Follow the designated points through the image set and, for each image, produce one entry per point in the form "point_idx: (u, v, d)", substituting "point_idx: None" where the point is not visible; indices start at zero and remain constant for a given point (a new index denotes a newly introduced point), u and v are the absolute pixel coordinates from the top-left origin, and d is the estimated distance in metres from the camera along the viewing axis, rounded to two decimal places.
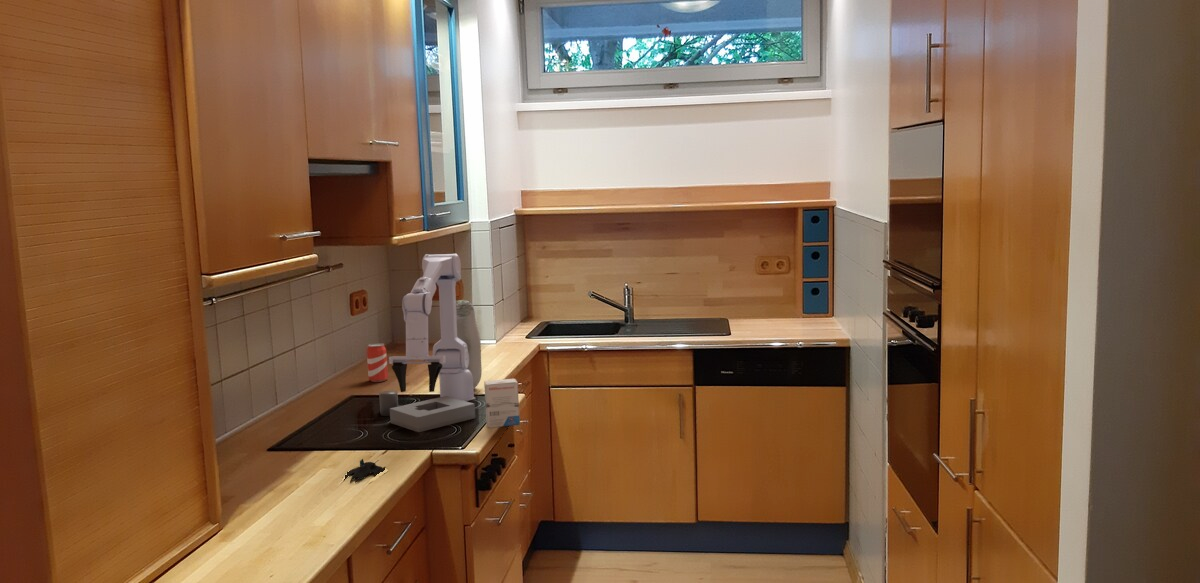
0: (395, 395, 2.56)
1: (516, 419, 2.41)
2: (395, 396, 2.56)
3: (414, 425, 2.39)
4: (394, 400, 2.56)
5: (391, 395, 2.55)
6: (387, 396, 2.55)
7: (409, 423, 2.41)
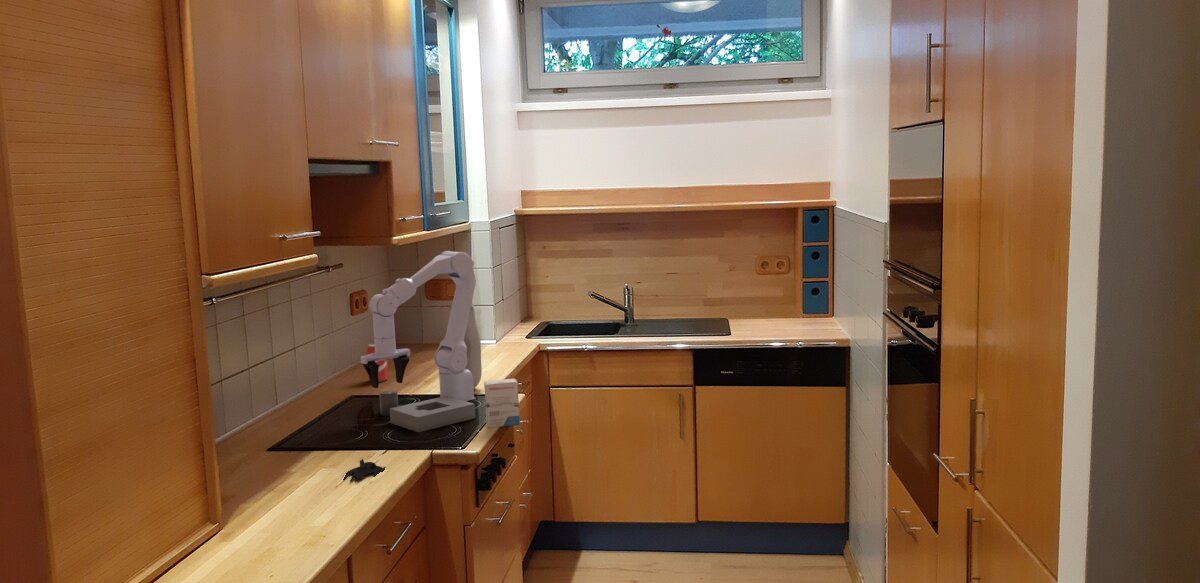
0: (395, 395, 2.56)
1: (516, 419, 2.41)
2: (395, 396, 2.56)
3: (414, 425, 2.39)
4: (394, 400, 2.56)
5: (391, 395, 2.55)
6: (387, 396, 2.55)
7: (409, 423, 2.41)
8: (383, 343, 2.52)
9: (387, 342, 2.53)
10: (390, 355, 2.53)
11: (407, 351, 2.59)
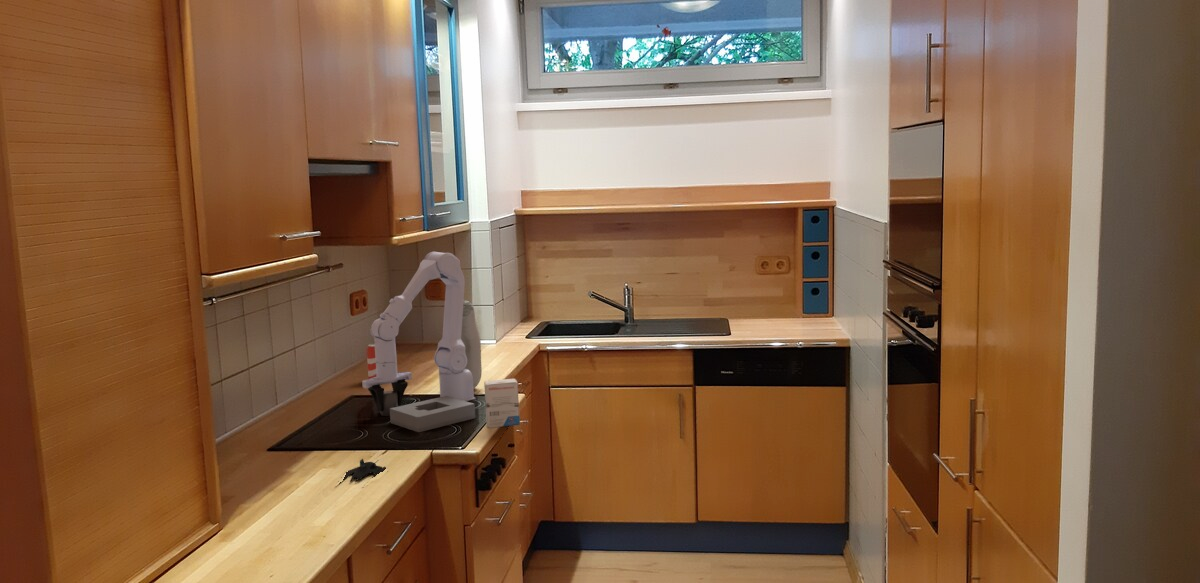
0: (395, 395, 2.56)
1: (516, 419, 2.41)
2: (395, 396, 2.56)
3: (414, 425, 2.39)
4: (394, 400, 2.56)
5: (391, 395, 2.55)
6: (387, 396, 2.55)
7: (409, 423, 2.41)
8: (385, 367, 2.53)
9: (389, 366, 2.54)
10: (392, 379, 2.54)
11: (408, 375, 2.60)
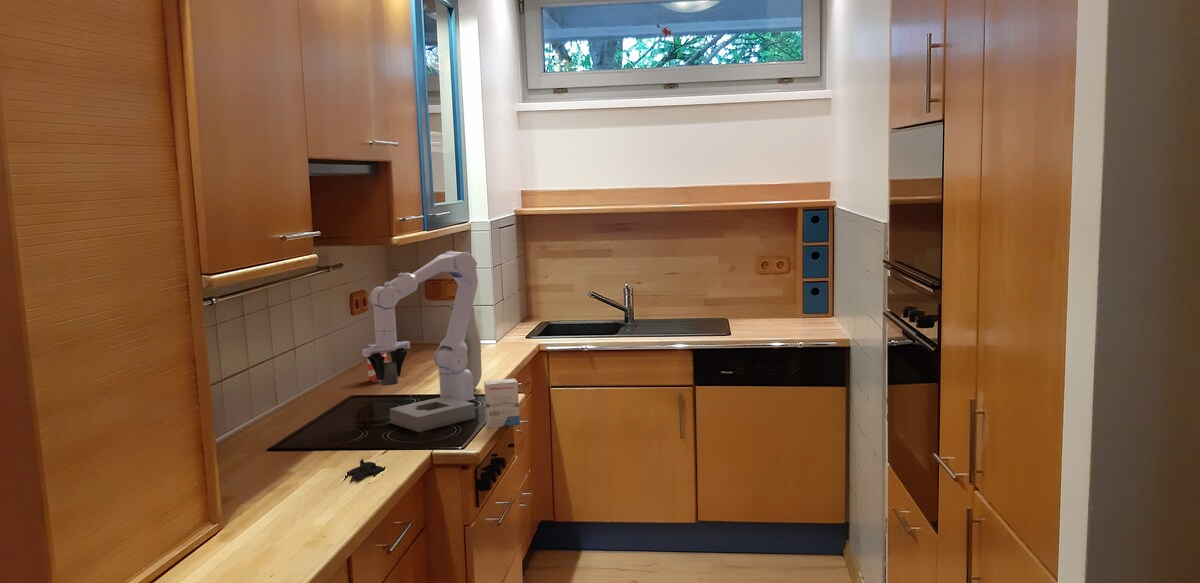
0: (395, 364, 2.55)
1: (516, 419, 2.41)
2: (395, 365, 2.55)
3: (414, 425, 2.39)
4: (394, 369, 2.55)
5: (391, 364, 2.54)
6: (387, 365, 2.53)
7: (409, 423, 2.41)
8: (385, 336, 2.52)
9: (389, 334, 2.52)
10: (392, 347, 2.53)
11: (407, 344, 2.59)
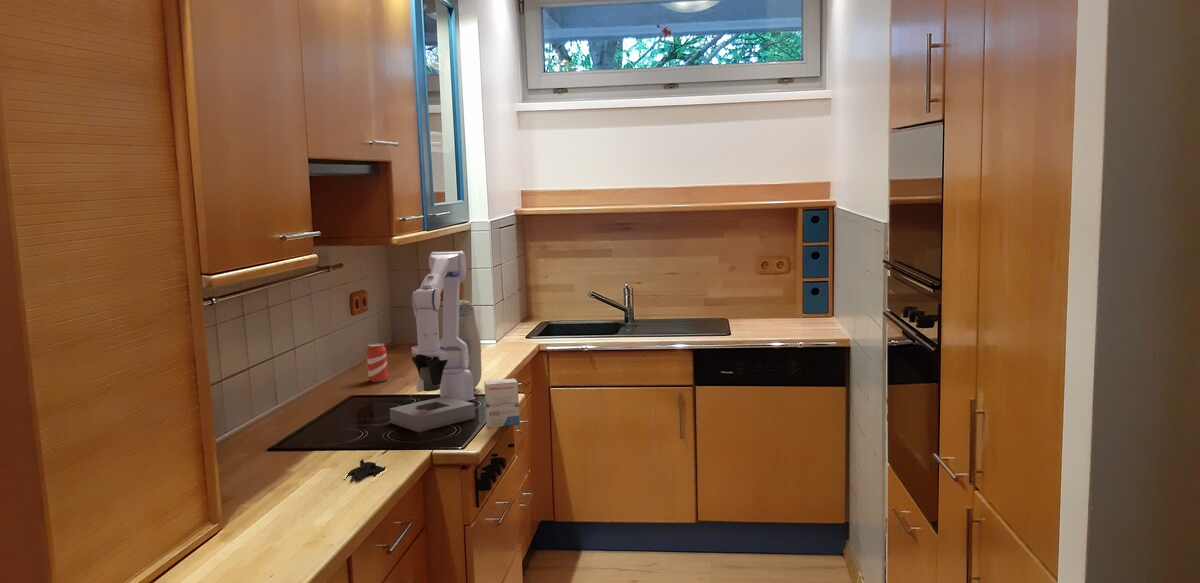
0: None
1: (516, 419, 2.41)
2: None
3: (414, 425, 2.39)
4: None
5: None
6: None
7: (409, 423, 2.41)
8: (438, 337, 2.46)
9: None
10: None
11: None
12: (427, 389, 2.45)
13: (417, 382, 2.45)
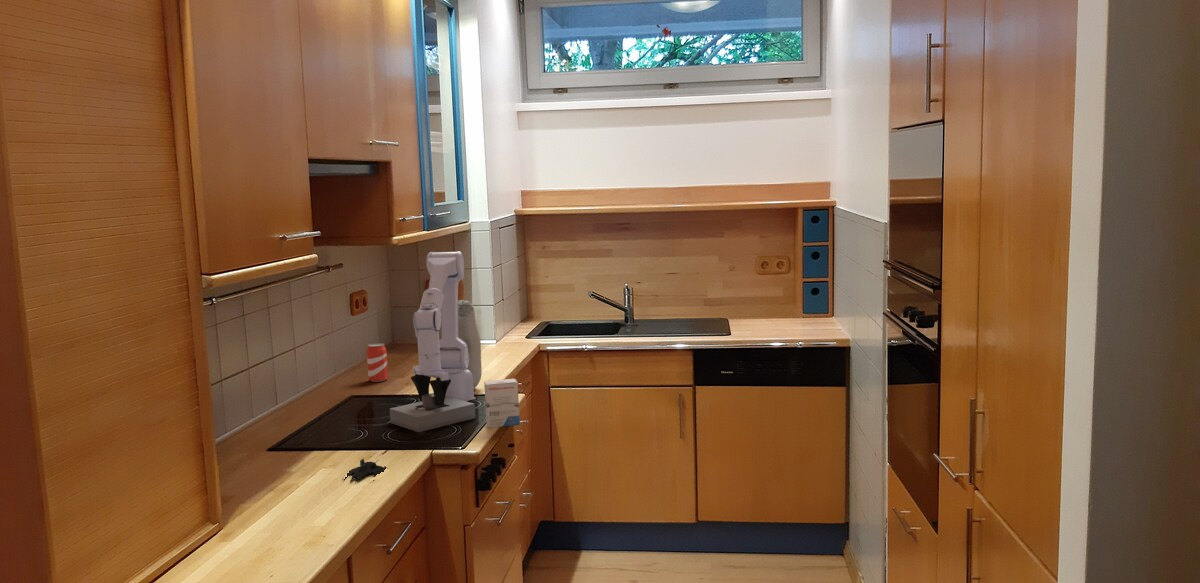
0: None
1: (516, 419, 2.41)
2: None
3: (414, 425, 2.39)
4: None
5: None
6: None
7: (409, 423, 2.41)
8: (440, 357, 2.47)
9: None
10: None
11: None
12: None
13: None
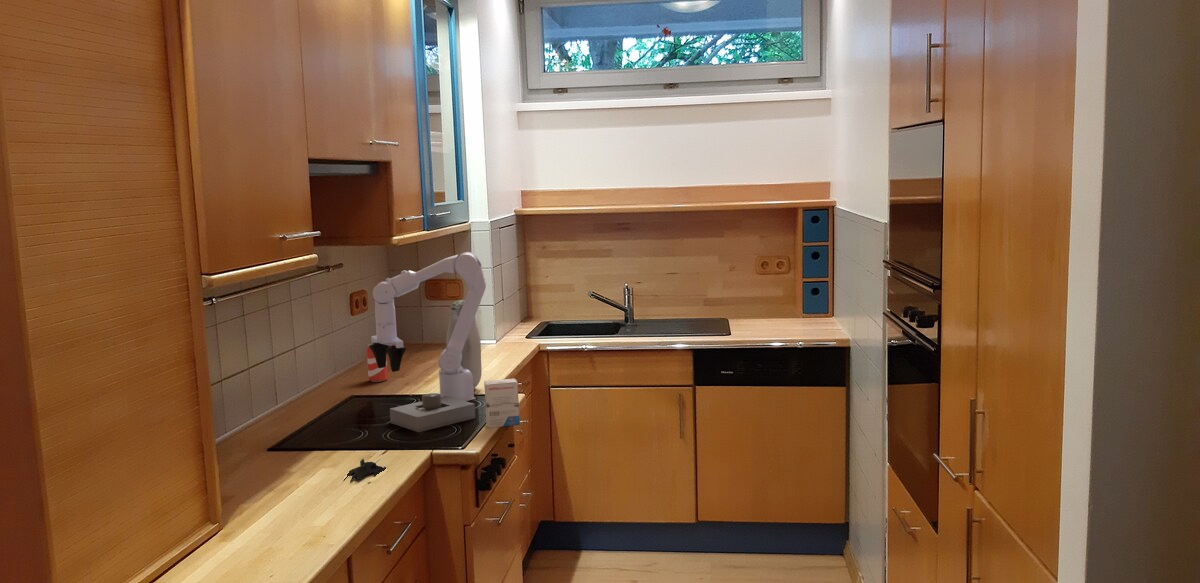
0: None
1: (516, 419, 2.41)
2: None
3: (414, 425, 2.39)
4: None
5: None
6: (440, 396, 2.48)
7: (409, 423, 2.41)
8: None
9: None
10: None
11: None
12: None
13: None
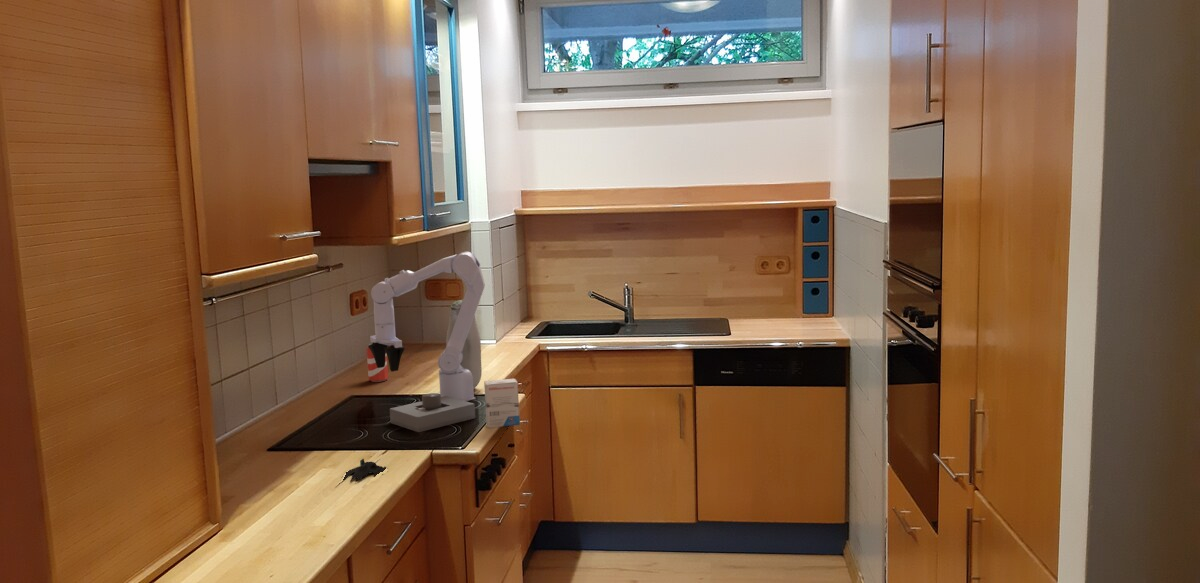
0: None
1: (516, 419, 2.41)
2: None
3: (414, 425, 2.39)
4: None
5: None
6: (440, 396, 2.48)
7: (409, 423, 2.41)
8: (394, 327, 2.67)
9: None
10: None
11: None
12: None
13: None
